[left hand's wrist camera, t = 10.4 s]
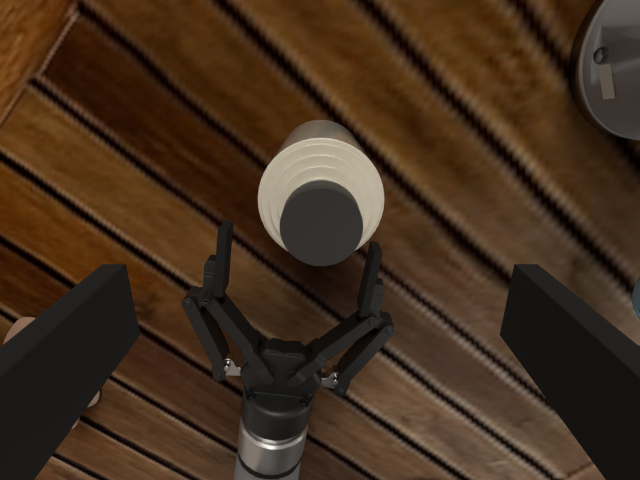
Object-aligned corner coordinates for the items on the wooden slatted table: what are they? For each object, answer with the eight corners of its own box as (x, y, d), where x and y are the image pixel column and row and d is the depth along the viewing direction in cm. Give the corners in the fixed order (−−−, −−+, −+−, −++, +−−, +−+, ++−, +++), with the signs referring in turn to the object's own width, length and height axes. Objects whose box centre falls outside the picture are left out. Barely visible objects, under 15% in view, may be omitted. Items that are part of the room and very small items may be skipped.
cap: (335, 266, 23) (336, 279, 21) (269, 232, 22) (265, 243, 20) (374, 203, 21) (379, 213, 20) (305, 165, 21) (304, 171, 19)
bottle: (335, 215, 40) (348, 314, 22) (265, 178, 39) (220, 253, 21) (376, 146, 38) (427, 197, 20) (303, 103, 36) (288, 117, 18)
